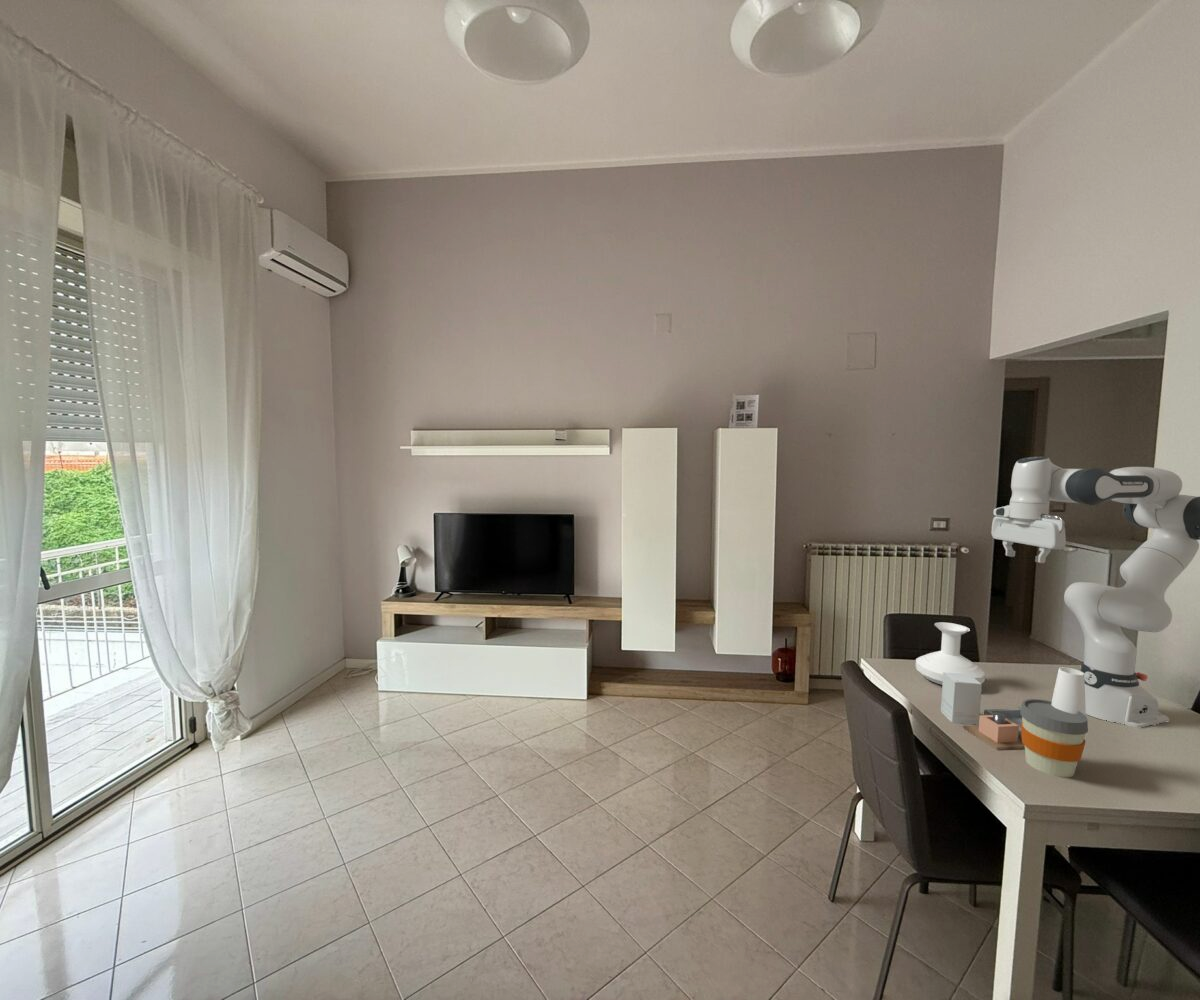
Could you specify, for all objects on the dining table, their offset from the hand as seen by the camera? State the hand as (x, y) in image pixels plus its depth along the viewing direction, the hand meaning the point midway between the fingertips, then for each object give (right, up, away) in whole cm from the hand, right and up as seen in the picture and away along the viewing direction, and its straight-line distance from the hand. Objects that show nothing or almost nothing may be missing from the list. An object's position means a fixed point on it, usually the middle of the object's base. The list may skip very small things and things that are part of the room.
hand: (1024, 559), depth 149 cm
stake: (-16, -47, -10) cm, 51 cm away
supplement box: (-18, -48, +2) cm, 51 cm away
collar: (-16, -47, -10) cm, 51 cm away
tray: (-4, -48, -4) cm, 49 cm away
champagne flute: (-7, -50, -20) cm, 54 cm away
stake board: (-16, -49, -10) cm, 52 cm away
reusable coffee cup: (-12, -50, -22) cm, 56 cm away
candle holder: (-3, -46, +29) cm, 54 cm away
